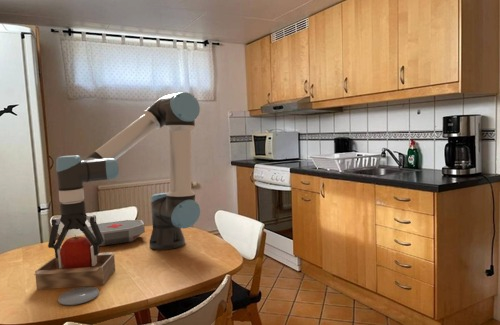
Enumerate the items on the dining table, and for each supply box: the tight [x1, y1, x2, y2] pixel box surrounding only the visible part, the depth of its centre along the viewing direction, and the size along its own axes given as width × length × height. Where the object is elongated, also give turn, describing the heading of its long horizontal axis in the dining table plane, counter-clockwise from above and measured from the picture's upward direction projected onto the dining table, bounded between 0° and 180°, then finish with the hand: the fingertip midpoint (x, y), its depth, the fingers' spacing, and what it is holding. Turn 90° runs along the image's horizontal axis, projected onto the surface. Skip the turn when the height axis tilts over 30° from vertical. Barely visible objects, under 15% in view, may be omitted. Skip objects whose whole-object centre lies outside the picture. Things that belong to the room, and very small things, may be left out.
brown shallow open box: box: [33, 251, 116, 290], centre depth 124 cm, size 21×18×6 cm
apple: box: [60, 235, 93, 269], centre depth 123 cm, size 10×10×14 cm
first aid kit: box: [85, 219, 146, 247], centre depth 167 cm, size 18×8×25 cm
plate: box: [57, 286, 99, 306], centre depth 109 cm, size 11×11×1 cm
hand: (78, 265), depth 124 cm, fingers closed on apple, 10 cm apart
